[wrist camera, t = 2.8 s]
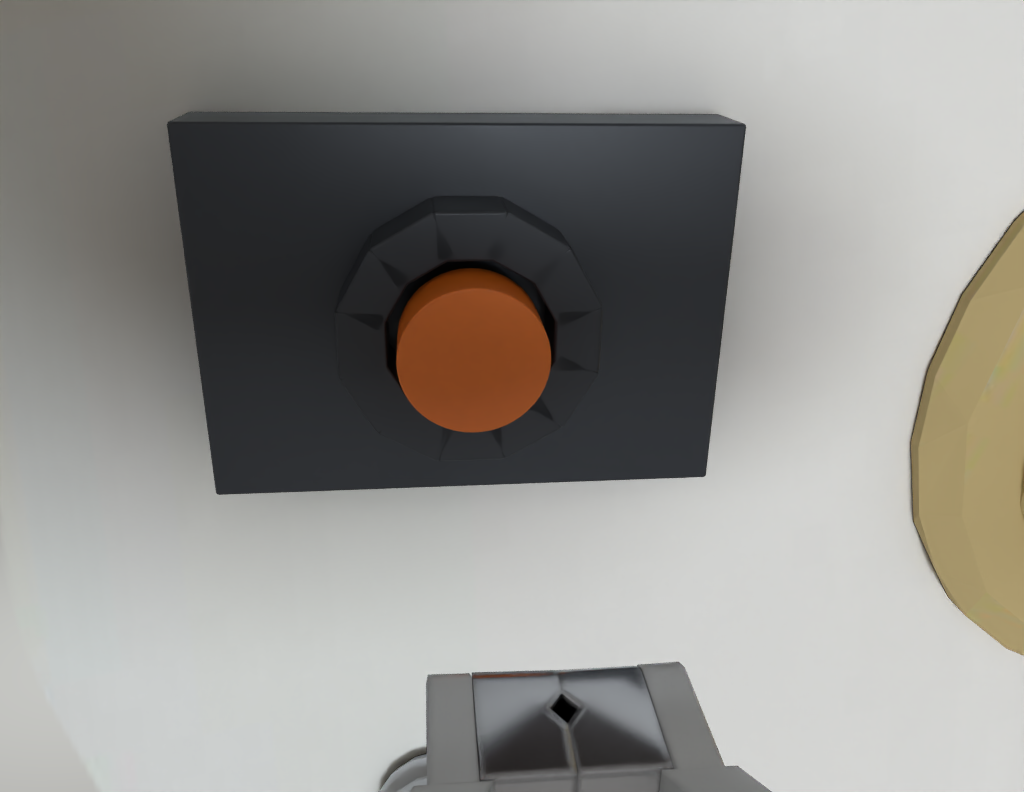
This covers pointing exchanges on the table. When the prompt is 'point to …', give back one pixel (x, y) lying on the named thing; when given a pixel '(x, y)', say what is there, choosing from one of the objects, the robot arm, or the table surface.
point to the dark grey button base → (445, 247)
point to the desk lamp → (978, 449)
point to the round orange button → (472, 350)
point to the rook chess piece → (407, 776)
